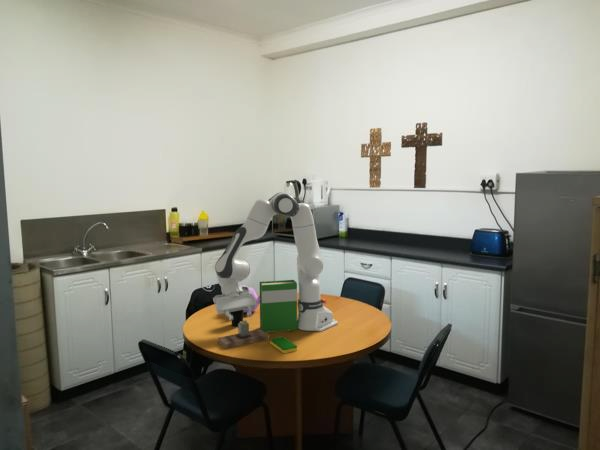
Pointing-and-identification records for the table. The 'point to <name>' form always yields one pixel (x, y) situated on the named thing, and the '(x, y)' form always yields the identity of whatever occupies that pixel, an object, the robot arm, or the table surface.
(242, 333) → the lever cap
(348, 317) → the table surface
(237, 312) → the cup
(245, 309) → the teapot
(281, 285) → the hardback book
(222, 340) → the brown flat board
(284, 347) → the dish sponge
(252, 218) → the robot arm
